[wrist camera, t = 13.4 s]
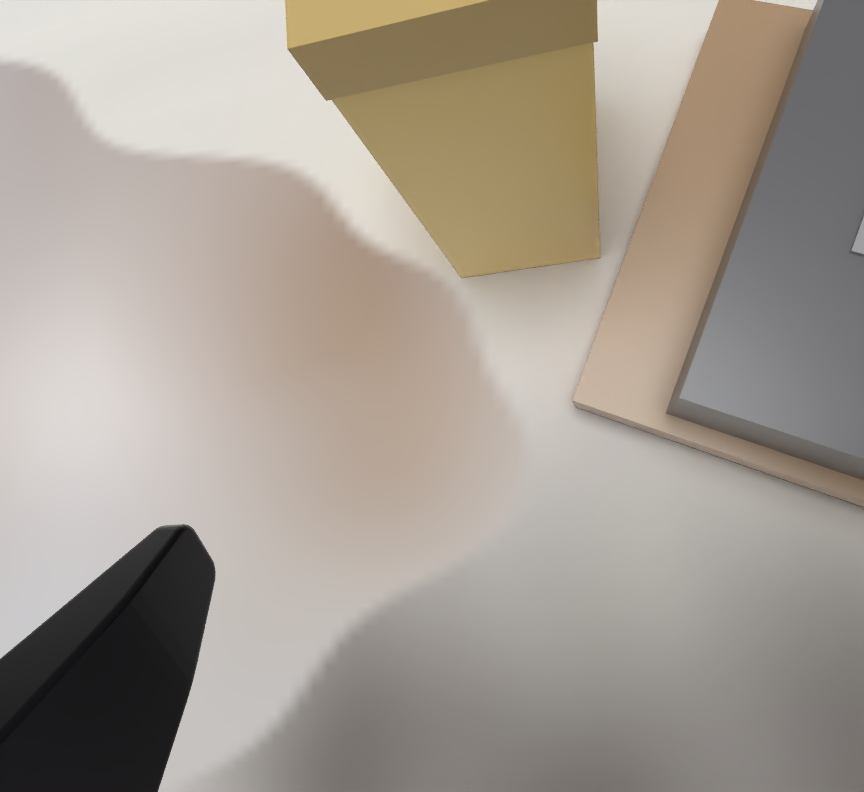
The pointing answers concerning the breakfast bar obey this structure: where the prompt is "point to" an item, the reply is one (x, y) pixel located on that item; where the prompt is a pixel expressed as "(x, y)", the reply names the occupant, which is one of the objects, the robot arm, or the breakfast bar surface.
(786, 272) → the panel
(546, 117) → the plug
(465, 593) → the breakfast bar surface
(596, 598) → the breakfast bar surface
